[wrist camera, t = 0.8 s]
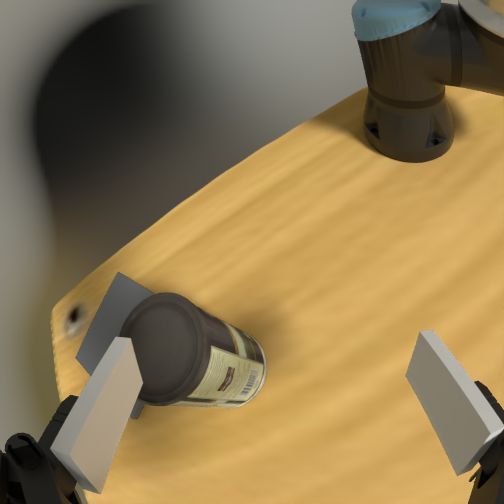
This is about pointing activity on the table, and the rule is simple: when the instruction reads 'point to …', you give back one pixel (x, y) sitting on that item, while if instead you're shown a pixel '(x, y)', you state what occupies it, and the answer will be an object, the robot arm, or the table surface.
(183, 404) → the coffee can
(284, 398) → the table surface
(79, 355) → the rubber mat
